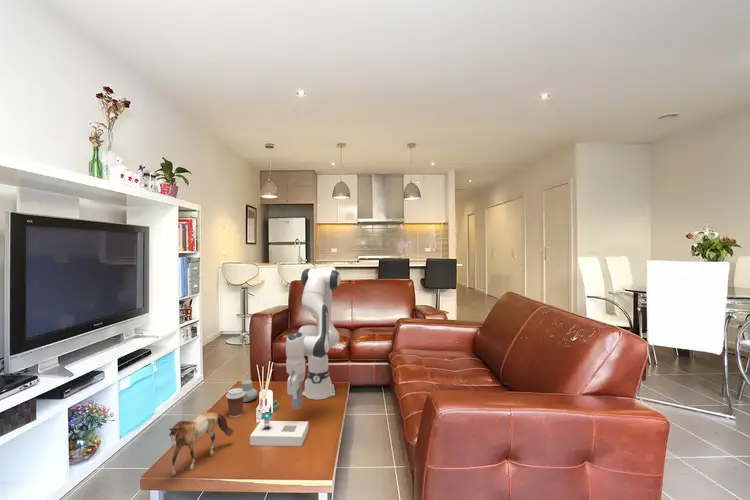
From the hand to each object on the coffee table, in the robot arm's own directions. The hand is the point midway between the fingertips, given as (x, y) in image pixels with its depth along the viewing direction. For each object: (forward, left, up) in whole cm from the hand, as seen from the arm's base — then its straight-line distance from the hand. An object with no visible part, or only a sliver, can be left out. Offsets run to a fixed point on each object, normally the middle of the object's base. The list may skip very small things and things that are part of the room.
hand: (296, 396), depth 183 cm
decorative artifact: (-15, -18, -13) cm, 27 cm away
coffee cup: (-8, -33, -13) cm, 37 cm away
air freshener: (-26, -34, -13) cm, 45 cm away
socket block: (+14, -4, -13) cm, 19 cm away
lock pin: (+14, -10, -9) cm, 19 cm away
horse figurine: (+34, -28, -13) cm, 46 cm away
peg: (0, 0, -5) cm, 5 cm away
